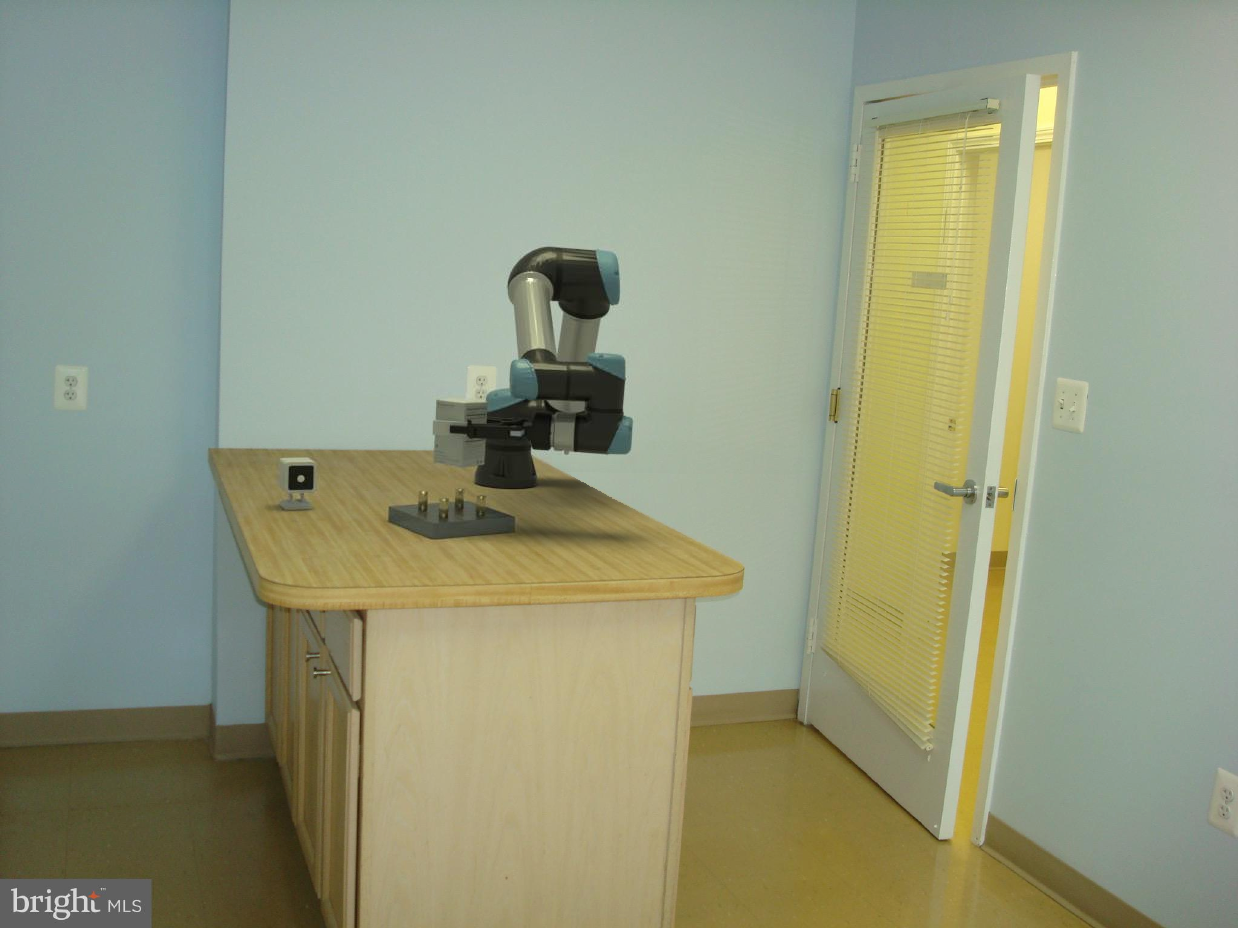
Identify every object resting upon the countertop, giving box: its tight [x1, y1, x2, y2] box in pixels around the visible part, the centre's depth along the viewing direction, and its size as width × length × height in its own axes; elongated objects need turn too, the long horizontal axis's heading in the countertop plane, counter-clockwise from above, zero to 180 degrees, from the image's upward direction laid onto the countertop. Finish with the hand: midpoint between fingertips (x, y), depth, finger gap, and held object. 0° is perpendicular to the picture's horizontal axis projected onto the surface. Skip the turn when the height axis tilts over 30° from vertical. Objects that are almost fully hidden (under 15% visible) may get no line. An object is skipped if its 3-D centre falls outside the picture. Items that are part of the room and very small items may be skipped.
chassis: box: [387, 487, 516, 540], centre depth 227 cm, size 18×18×6 cm
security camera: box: [278, 457, 318, 511], centre depth 236 cm, size 6×7×10 cm
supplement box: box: [433, 397, 488, 469], centre depth 224 cm, size 7×7×13 cm
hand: (438, 424), depth 224 cm, fingers closed on supplement box, 10 cm apart
